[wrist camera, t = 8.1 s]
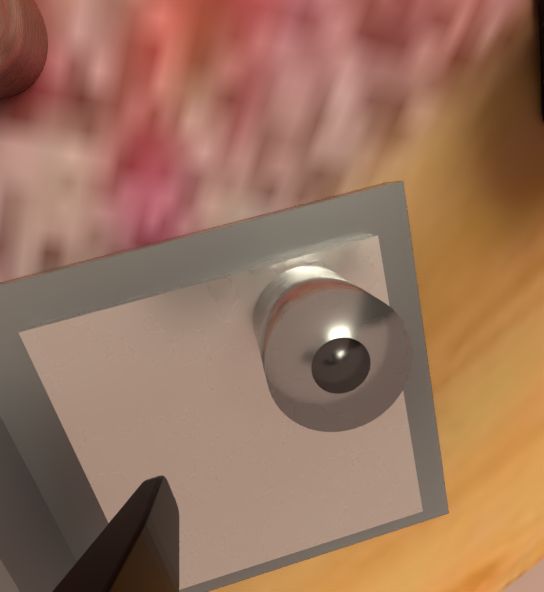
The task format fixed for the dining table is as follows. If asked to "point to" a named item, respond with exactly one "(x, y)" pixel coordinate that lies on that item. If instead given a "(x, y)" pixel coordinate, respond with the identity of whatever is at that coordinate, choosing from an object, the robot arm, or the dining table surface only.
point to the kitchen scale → (204, 401)
